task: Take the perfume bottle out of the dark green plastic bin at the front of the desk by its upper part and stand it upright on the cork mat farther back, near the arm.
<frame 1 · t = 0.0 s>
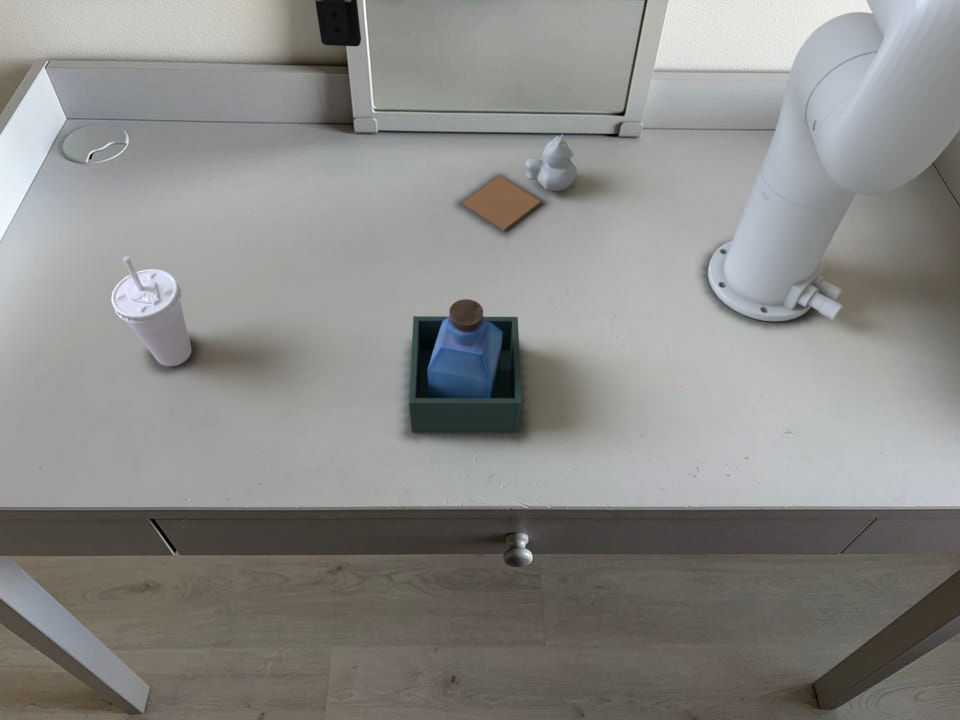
hand: (350, 12, 67), 31 cm above the table, tool pointing down, fingers open, 9 cm apart
bin: (465, 388, 81), on the table
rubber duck: (548, 186, 101), on the table
perfume bottle: (465, 387, 81), resting on bin
smoothie: (174, 353, 84), on the table
mat: (502, 204, 99), on the table
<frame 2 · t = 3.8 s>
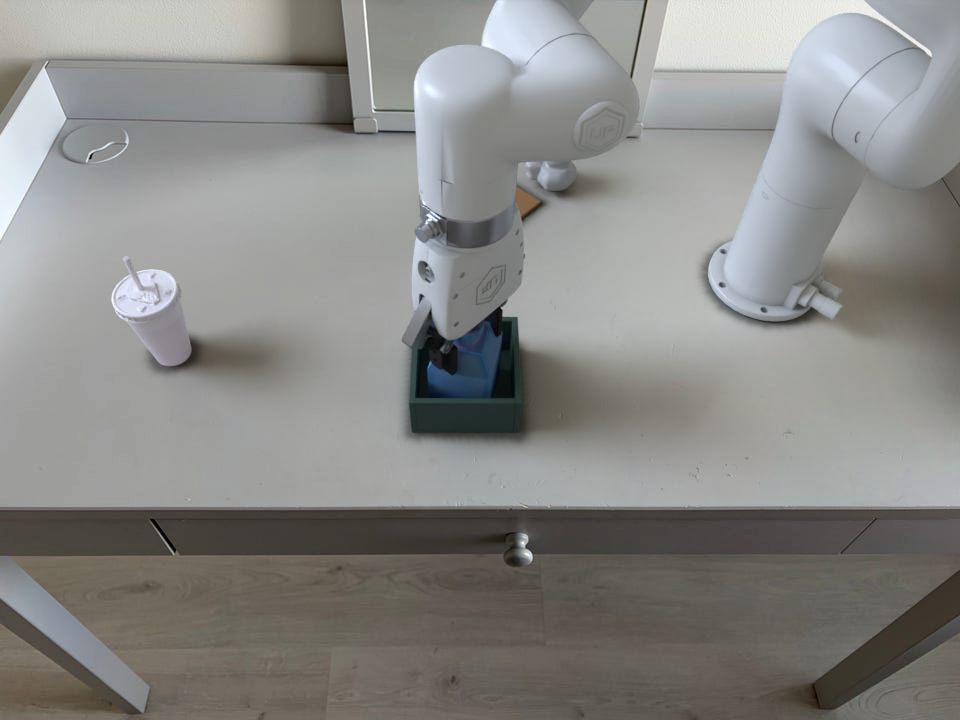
hand: (465, 346, 76), 7 cm above the table, tool pointing down, fingers closed on perfume bottle, 5 cm apart
perfume bottle: (465, 387, 81), resting on bin, touching gripper
everything else where it was.
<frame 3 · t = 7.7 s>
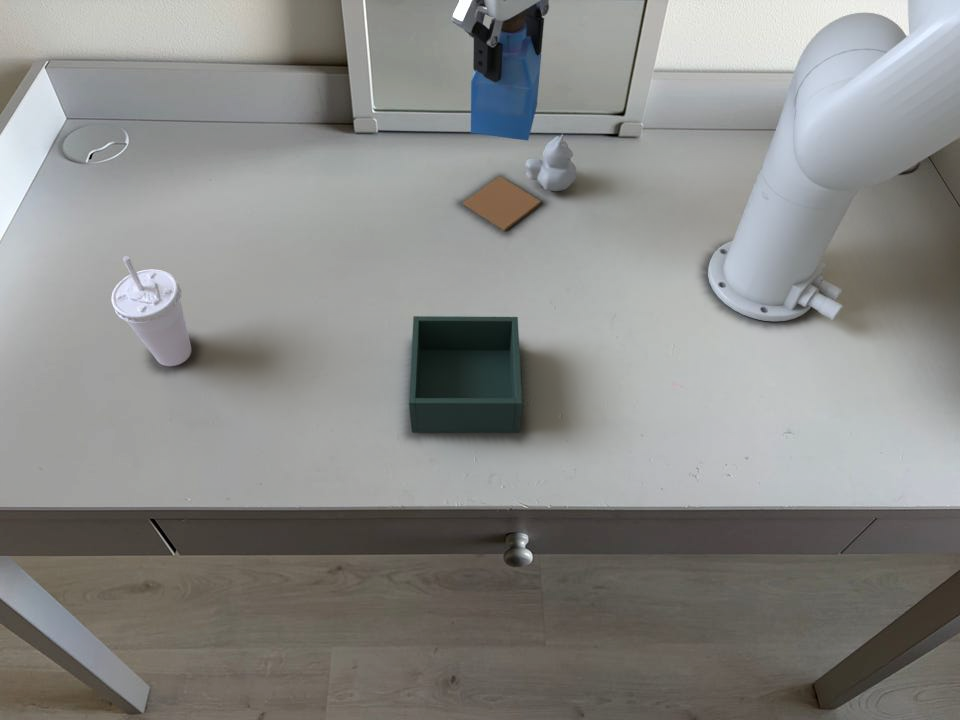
hand: (507, 61, 79), 22 cm above the table, tool pointing down, fingers closed on perfume bottle, 5 cm apart
perfume bottle: (504, 120, 84), point 15 cm above the table, touching gripper
everything else where it was.
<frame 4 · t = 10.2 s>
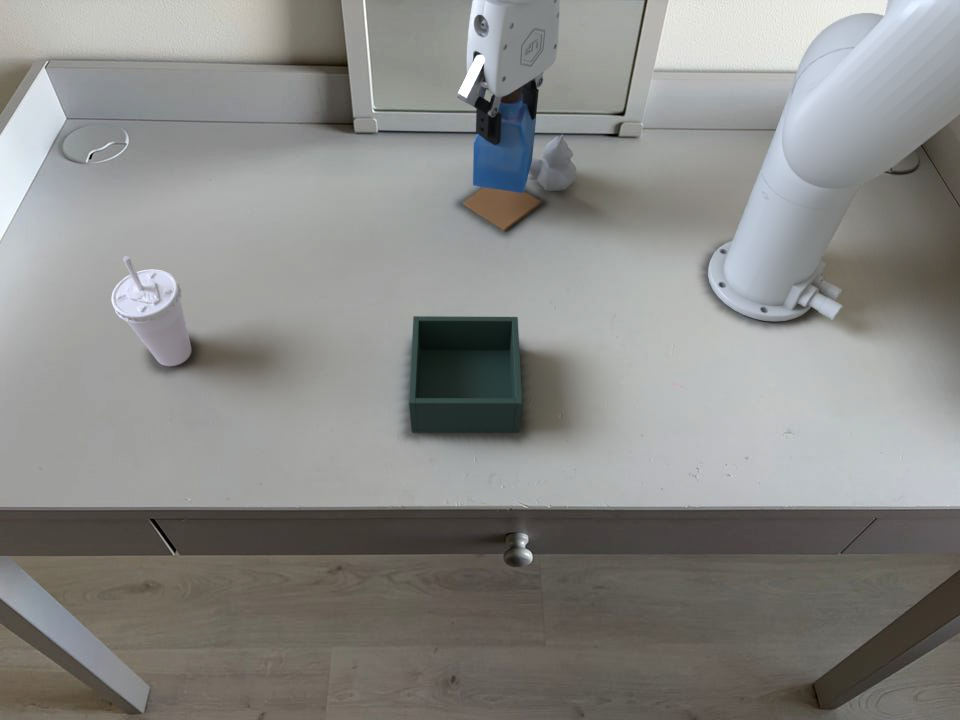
hand: (506, 125, 89), 12 cm above the table, tool pointing down, fingers closed on perfume bottle, 5 cm apart
perfume bottle: (502, 174, 95), point 5 cm above the table, touching gripper
everything else where it was.
when the fingers open (7 cm above the table, at t = 11.9 s): perfume bottle stays where it is, resting on mat.
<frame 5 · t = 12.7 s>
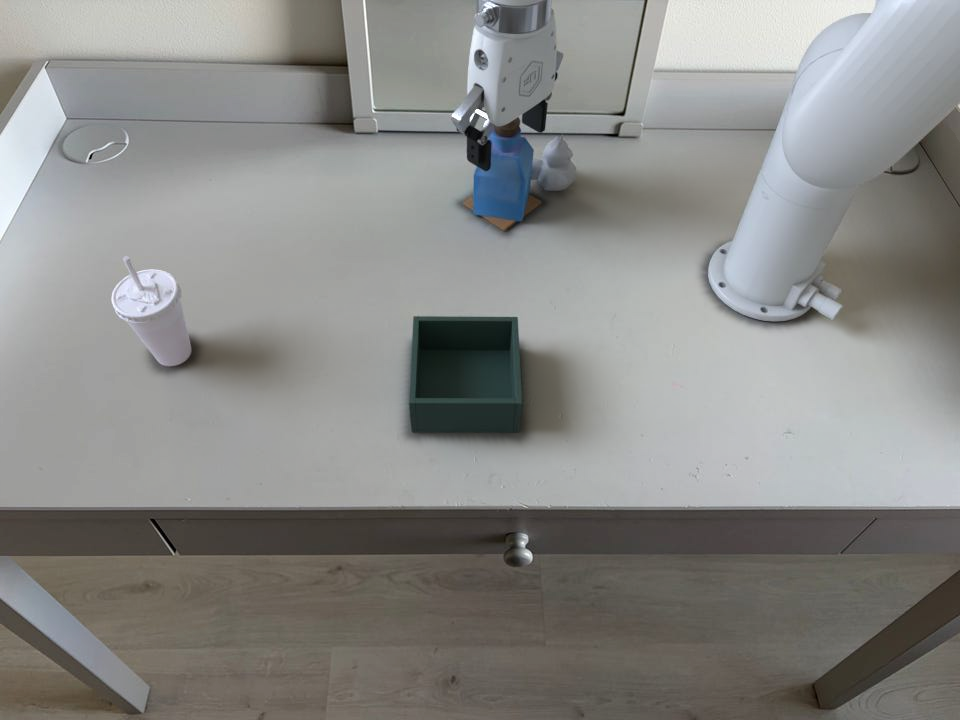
hand: (506, 145, 91), 9 cm above the table, tool pointing down, fingers open, 9 cm apart
perfume bottle: (501, 202, 99), resting on mat
everything else where it was.
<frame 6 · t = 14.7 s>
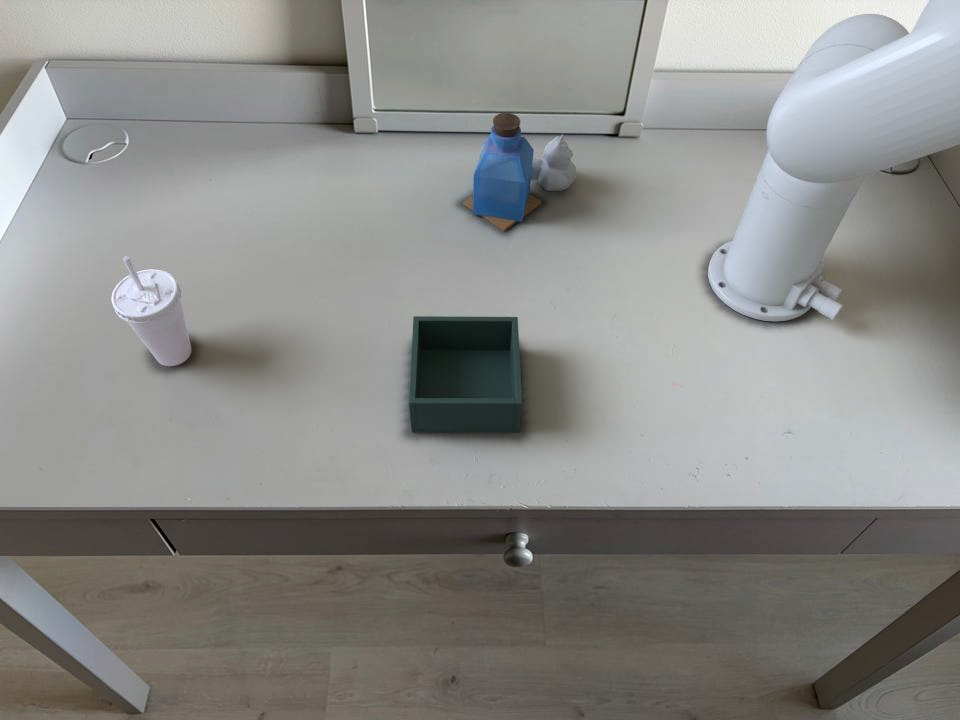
nothing on the table moved.
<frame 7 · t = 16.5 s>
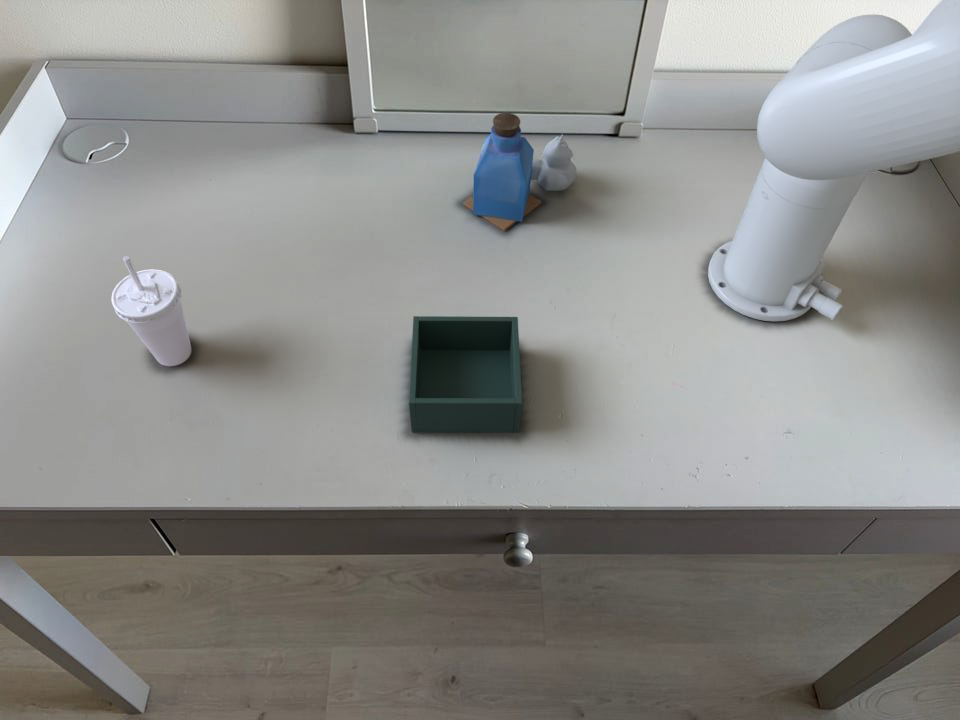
nothing on the table moved.
at the end: perfume bottle 0.0 cm off-centre on the mat, point 0.2 cm above the mat's base; perfume bottle tilted 0°; perfume bottle touching mat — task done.
